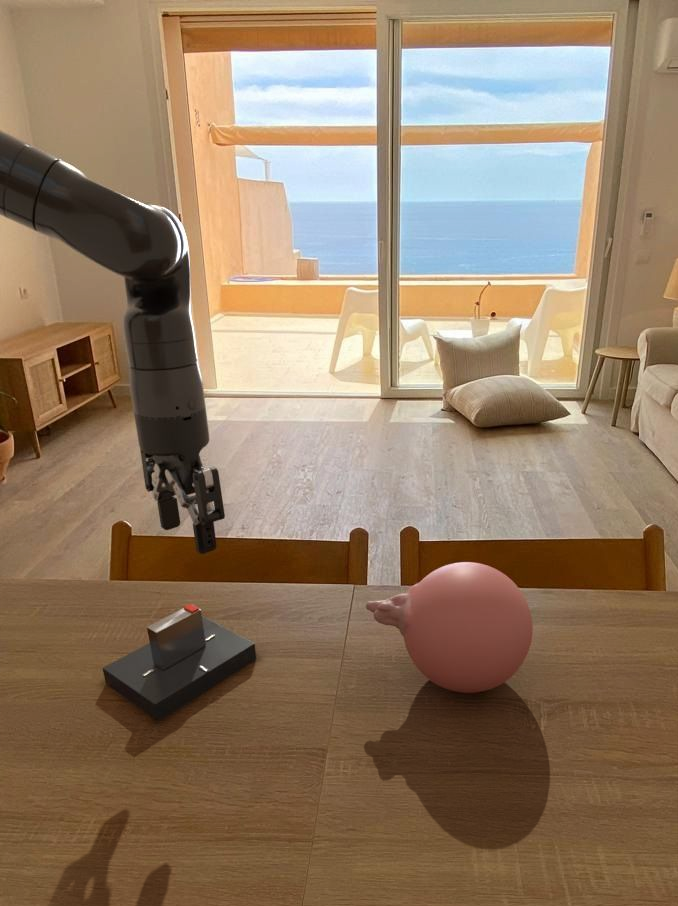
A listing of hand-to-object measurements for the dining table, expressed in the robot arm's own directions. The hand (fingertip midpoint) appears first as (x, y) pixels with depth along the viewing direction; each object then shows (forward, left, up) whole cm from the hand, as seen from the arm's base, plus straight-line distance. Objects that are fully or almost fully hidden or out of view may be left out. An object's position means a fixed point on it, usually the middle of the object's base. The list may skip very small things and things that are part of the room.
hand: (188, 539), depth 82 cm
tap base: (-3, +1, -18) cm, 19 cm away
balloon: (+23, -20, -18) cm, 36 cm away
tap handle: (-3, +1, -16) cm, 16 cm away
